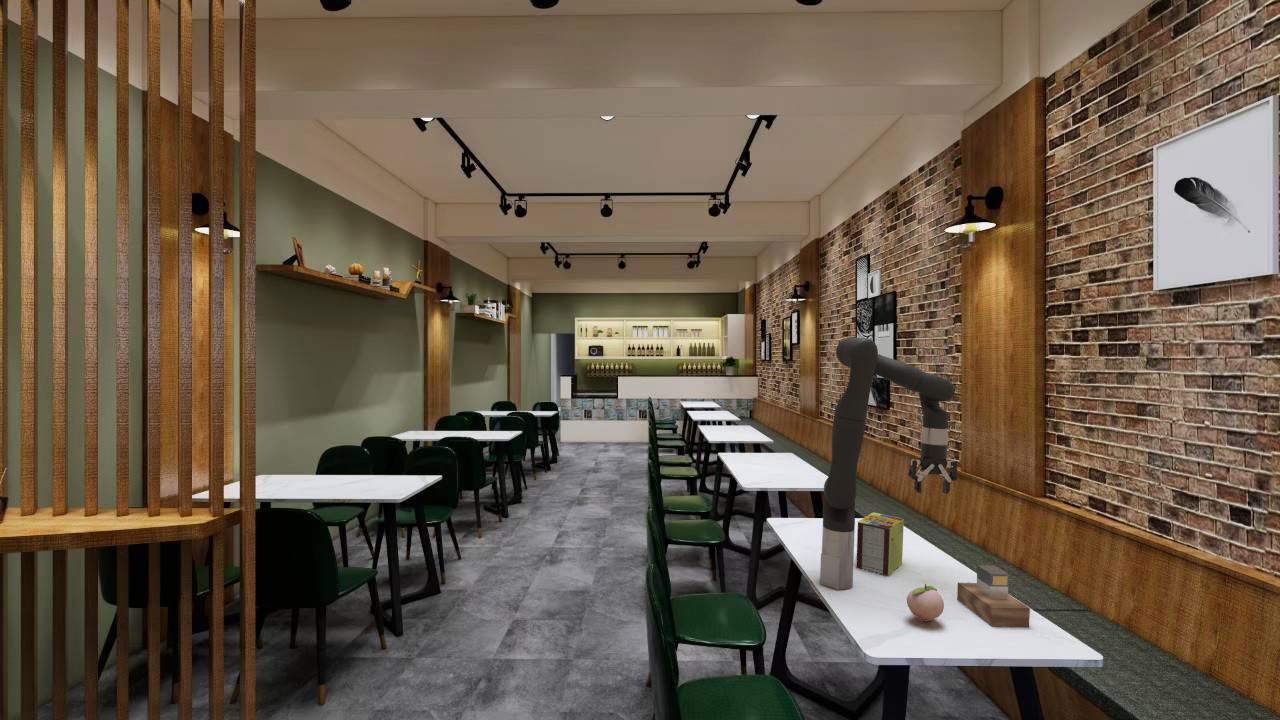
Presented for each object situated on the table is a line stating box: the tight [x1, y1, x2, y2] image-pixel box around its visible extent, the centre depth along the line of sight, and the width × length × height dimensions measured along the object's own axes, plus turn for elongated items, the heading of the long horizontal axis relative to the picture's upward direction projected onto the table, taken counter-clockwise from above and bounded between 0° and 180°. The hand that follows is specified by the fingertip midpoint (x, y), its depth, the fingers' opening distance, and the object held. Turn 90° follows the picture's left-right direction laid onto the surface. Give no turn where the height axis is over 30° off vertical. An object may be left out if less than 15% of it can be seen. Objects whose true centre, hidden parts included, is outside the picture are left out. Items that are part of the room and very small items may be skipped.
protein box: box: [855, 512, 905, 577], centre depth 194 cm, size 10×15×16 cm
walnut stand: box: [956, 582, 1031, 628], centre depth 162 cm, size 16×10×5 cm, turn 1°
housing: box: [976, 564, 1010, 600], centre depth 161 cm, size 5×6×7 cm
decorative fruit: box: [906, 583, 945, 622], centre depth 155 cm, size 9×8×10 cm
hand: (931, 493), depth 185 cm, fingers open, 8 cm apart
